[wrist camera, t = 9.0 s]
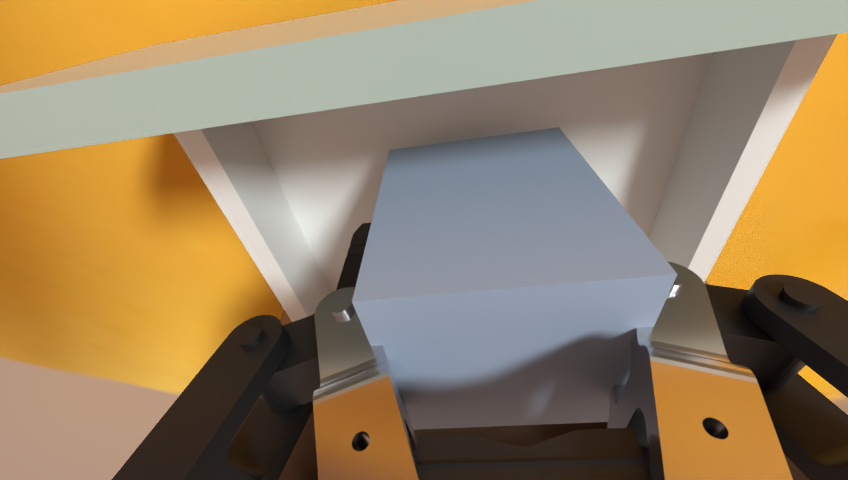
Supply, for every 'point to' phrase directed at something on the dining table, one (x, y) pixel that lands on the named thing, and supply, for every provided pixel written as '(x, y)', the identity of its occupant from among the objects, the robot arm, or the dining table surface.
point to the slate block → (505, 282)
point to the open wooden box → (302, 462)
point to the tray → (451, 110)
